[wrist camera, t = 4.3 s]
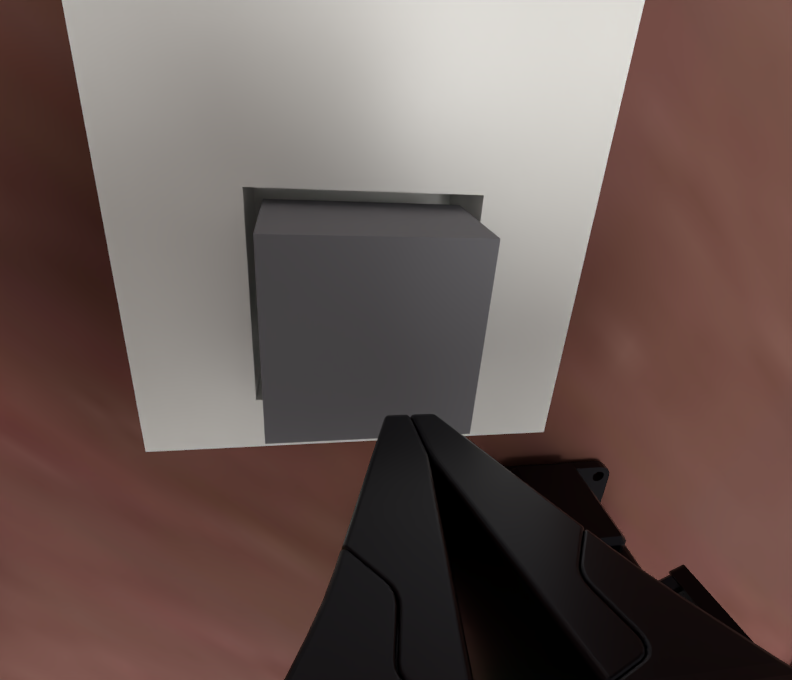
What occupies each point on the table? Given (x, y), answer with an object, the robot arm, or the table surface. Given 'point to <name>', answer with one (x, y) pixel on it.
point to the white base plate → (339, 170)
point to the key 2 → (369, 315)
